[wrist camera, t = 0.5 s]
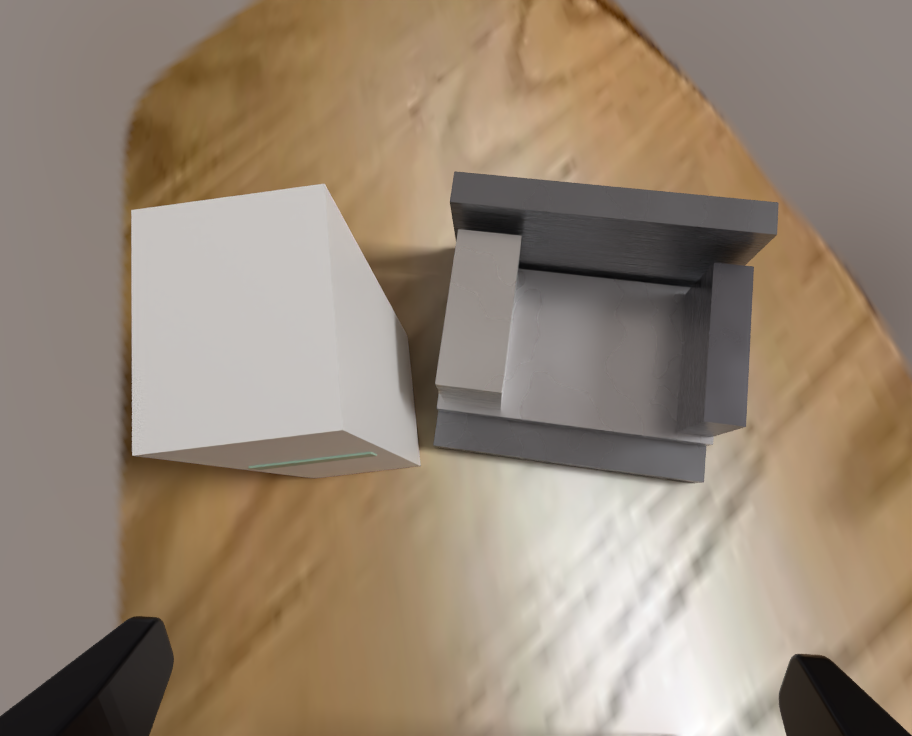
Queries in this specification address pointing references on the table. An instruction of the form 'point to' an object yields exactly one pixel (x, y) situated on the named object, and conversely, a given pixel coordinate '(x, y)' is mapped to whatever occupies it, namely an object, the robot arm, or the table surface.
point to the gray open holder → (597, 323)
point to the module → (265, 340)
